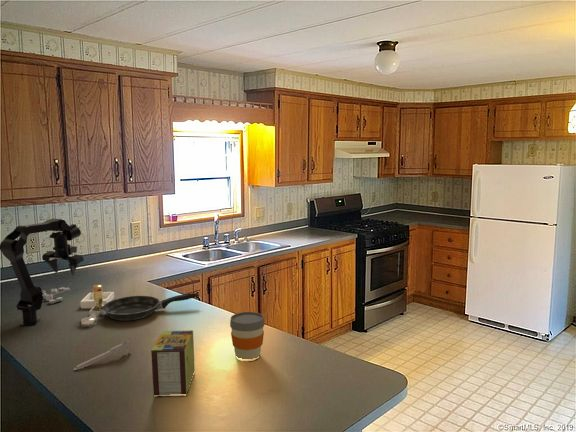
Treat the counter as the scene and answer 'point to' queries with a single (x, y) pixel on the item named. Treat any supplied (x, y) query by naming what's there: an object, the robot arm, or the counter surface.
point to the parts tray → (89, 299)
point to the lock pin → (98, 297)
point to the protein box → (173, 362)
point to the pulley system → (54, 292)
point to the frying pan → (139, 306)
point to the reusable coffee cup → (247, 334)
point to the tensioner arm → (92, 317)
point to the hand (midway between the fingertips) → (65, 273)
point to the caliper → (107, 354)
